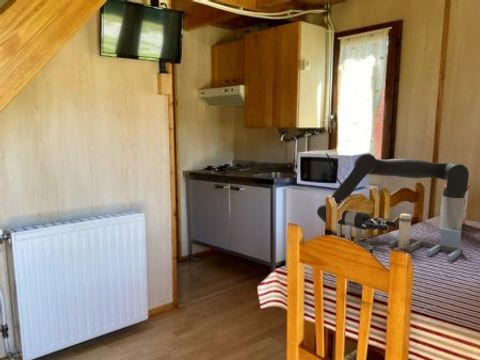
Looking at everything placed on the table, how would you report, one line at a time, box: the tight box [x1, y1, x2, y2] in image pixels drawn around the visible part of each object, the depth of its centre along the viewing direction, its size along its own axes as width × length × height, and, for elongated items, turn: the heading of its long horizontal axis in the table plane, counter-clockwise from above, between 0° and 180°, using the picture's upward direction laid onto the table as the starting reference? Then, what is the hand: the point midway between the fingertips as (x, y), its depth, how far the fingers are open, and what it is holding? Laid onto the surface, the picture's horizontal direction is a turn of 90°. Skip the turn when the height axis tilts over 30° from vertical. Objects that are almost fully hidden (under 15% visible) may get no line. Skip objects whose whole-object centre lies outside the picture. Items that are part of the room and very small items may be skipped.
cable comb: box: [388, 228, 465, 262], centre depth 159 cm, size 13×25×9 cm, turn 45°
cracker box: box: [438, 184, 470, 225], centre depth 201 cm, size 14×6×21 cm, turn 117°
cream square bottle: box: [397, 213, 413, 250], centre depth 162 cm, size 5×5×14 cm
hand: (391, 226), depth 166 cm, fingers open, 8 cm apart
